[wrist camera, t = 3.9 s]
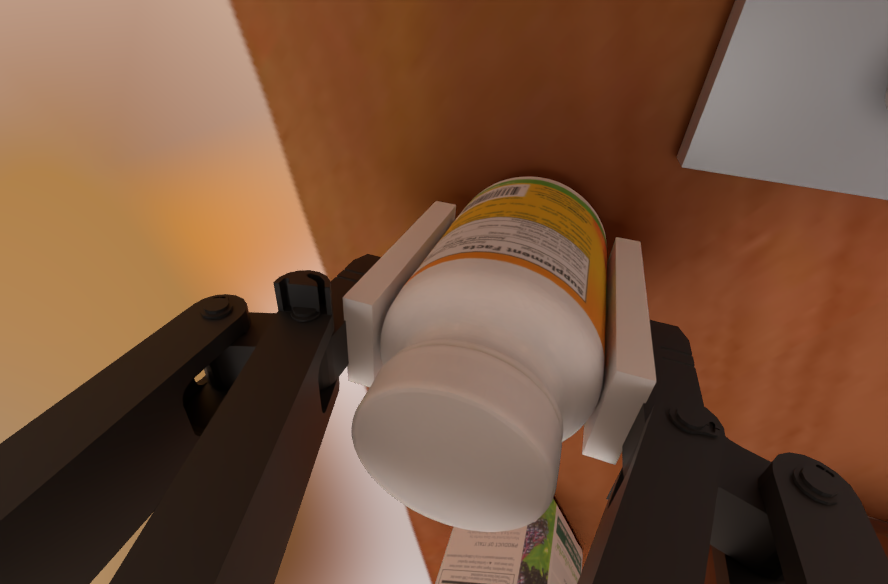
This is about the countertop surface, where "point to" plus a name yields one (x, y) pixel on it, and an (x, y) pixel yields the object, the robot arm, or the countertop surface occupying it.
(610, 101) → the countertop surface
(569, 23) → the countertop surface
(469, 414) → the supplement bottle
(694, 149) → the pin tray
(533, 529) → the syrup box
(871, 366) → the countertop surface
